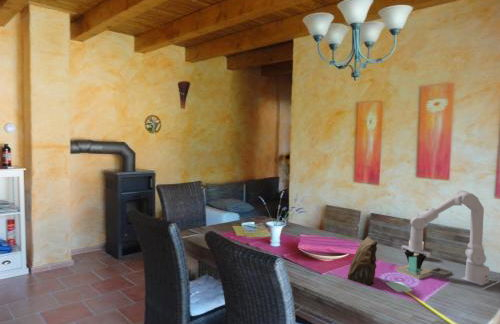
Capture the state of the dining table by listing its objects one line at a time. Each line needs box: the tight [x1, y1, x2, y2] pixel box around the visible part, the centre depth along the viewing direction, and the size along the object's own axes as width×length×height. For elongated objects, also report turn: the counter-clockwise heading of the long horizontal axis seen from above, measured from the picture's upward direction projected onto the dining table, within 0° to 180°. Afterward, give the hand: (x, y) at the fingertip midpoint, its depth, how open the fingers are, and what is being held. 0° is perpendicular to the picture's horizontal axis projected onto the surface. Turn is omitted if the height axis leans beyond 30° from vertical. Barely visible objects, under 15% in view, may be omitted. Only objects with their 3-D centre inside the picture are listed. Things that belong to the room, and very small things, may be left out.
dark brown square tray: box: [430, 267, 455, 279], centre depth 185 cm, size 9×9×2 cm
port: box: [396, 263, 433, 280], centre depth 184 cm, size 12×12×3 cm
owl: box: [346, 235, 378, 287], centre depth 172 cm, size 13×13×20 cm
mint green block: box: [407, 255, 421, 272], centre depth 183 cm, size 4×5×7 cm
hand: (414, 267), depth 183 cm, fingers closed on mint green block, 4 cm apart
